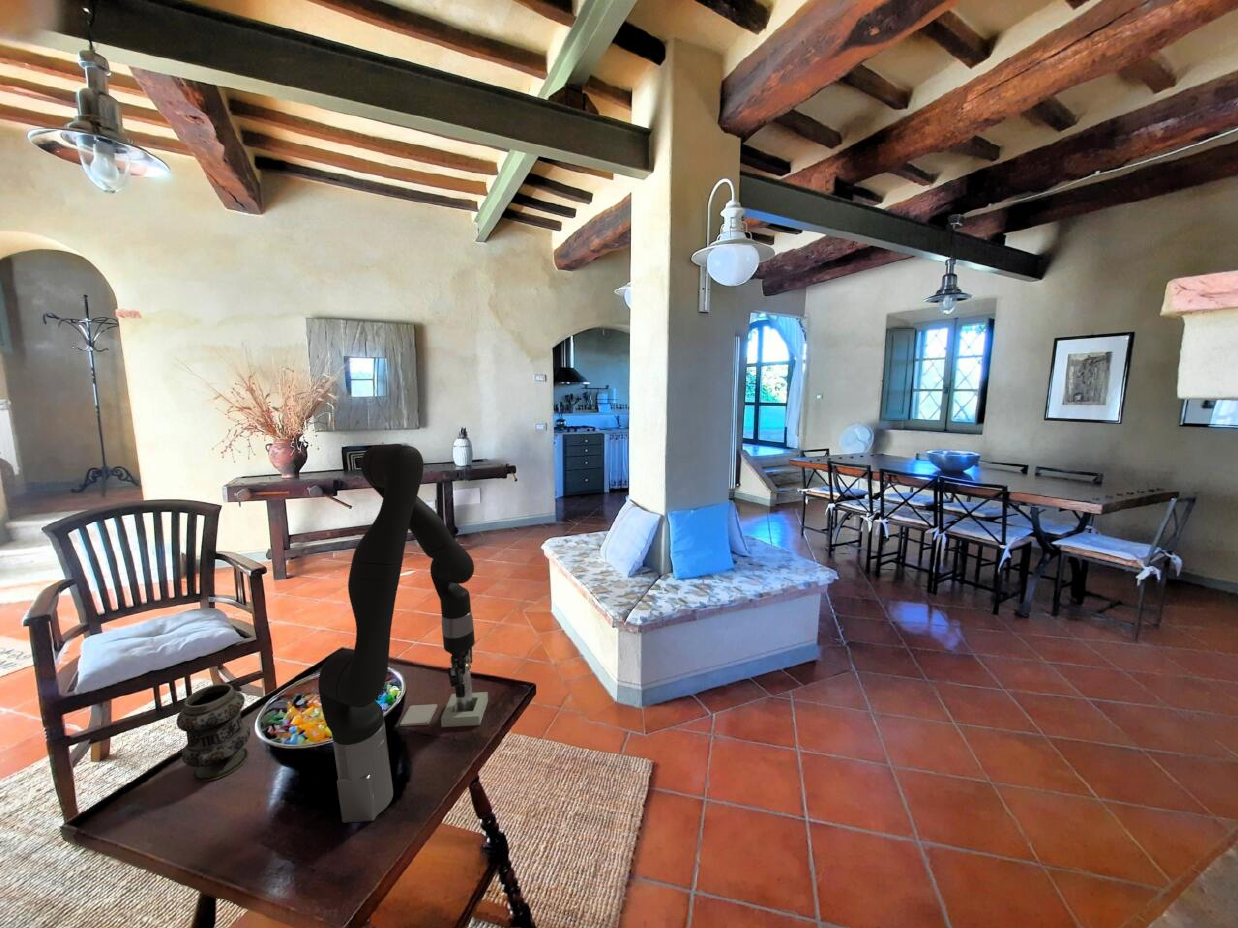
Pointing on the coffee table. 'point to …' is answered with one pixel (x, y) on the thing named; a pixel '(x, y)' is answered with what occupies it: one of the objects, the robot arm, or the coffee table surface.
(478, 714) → the collar
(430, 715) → the felt pad
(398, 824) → the coffee table surface
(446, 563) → the robot arm
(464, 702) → the steel pin
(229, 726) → the apothecary jar
